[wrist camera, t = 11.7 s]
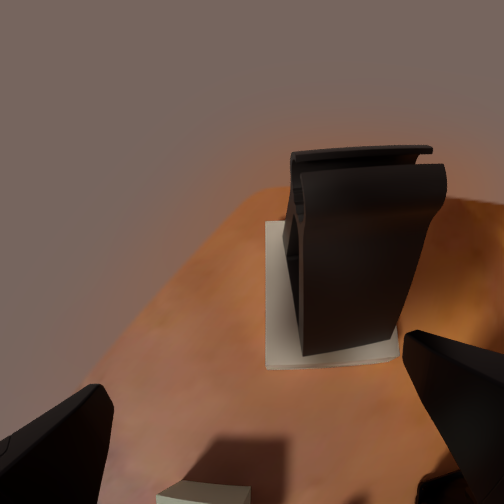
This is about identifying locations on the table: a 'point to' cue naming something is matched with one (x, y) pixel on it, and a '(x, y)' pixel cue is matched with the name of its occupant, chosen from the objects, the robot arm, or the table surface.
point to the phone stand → (356, 239)
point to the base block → (285, 324)
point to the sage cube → (204, 494)
